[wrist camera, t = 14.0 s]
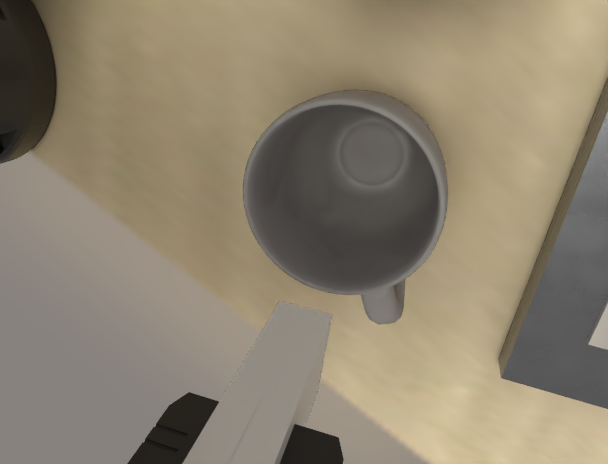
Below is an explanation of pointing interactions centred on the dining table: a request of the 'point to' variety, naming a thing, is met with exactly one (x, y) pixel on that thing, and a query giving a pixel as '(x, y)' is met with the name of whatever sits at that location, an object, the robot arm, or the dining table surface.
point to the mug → (348, 196)
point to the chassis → (569, 286)
